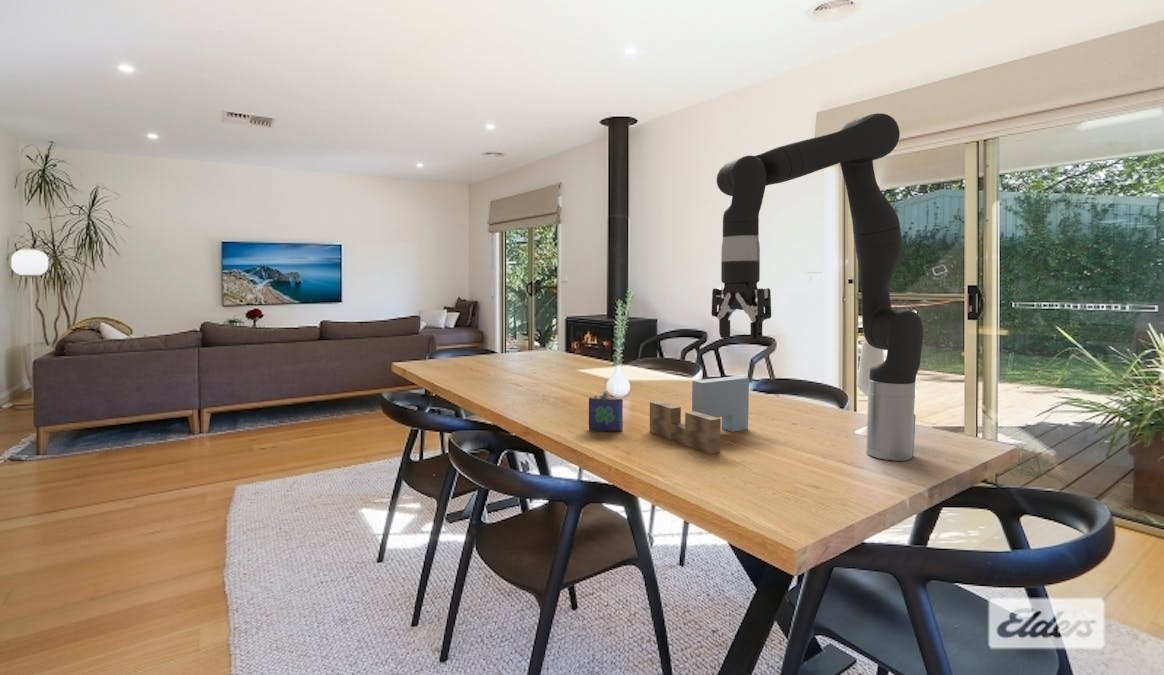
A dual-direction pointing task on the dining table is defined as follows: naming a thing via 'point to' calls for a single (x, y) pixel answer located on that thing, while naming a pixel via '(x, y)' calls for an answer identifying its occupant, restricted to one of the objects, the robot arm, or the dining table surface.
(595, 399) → the flask
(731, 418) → the tall grey upright block
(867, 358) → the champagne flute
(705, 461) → the dining table surface
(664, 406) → the walnut slotted plate
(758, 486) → the dining table surface
